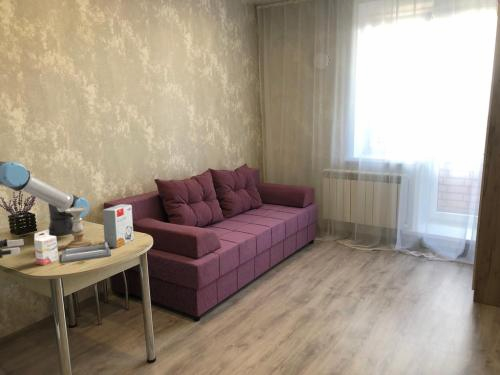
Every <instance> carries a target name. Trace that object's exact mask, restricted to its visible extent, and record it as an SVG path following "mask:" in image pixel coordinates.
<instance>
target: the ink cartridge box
mask: <svg viewBox="0 0 500 375" xmlns="http://www.w3.org/2000/svg"><path fill="white" fill-rule="evenodd" d="M33 237H34V238H33V239H34V240H33V244H34V252H35V262H36V265H41V266H45V265H49V264H50V263H53V262H55V261H58V260H59V252H58V251H59V250H58V242H57V236H53V235H49V230H48V229H45V230H42V231H38V232H35V233H34V235H33Z"/></svg>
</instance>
